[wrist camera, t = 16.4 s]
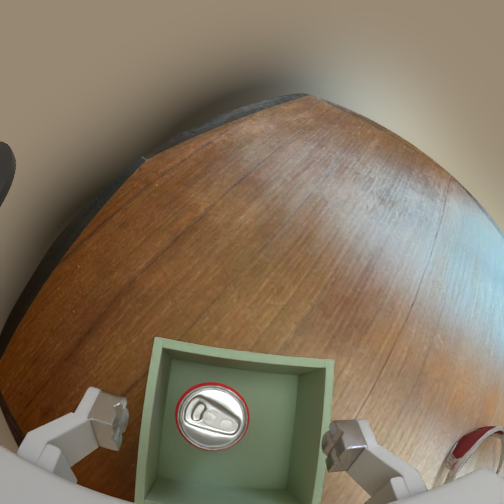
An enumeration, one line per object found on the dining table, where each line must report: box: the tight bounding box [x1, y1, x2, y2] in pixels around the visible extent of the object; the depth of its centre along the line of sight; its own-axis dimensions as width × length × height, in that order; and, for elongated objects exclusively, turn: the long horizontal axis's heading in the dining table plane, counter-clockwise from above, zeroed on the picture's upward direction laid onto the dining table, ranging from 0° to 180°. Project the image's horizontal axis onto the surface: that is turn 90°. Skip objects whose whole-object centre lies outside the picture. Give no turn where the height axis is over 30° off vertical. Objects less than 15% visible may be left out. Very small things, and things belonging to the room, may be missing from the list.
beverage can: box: [175, 382, 250, 451], centre depth 22 cm, size 5×5×12 cm
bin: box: [134, 337, 334, 504], centre depth 23 cm, size 16×16×9 cm
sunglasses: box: [444, 426, 504, 484], centre depth 24 cm, size 17×17×5 cm
